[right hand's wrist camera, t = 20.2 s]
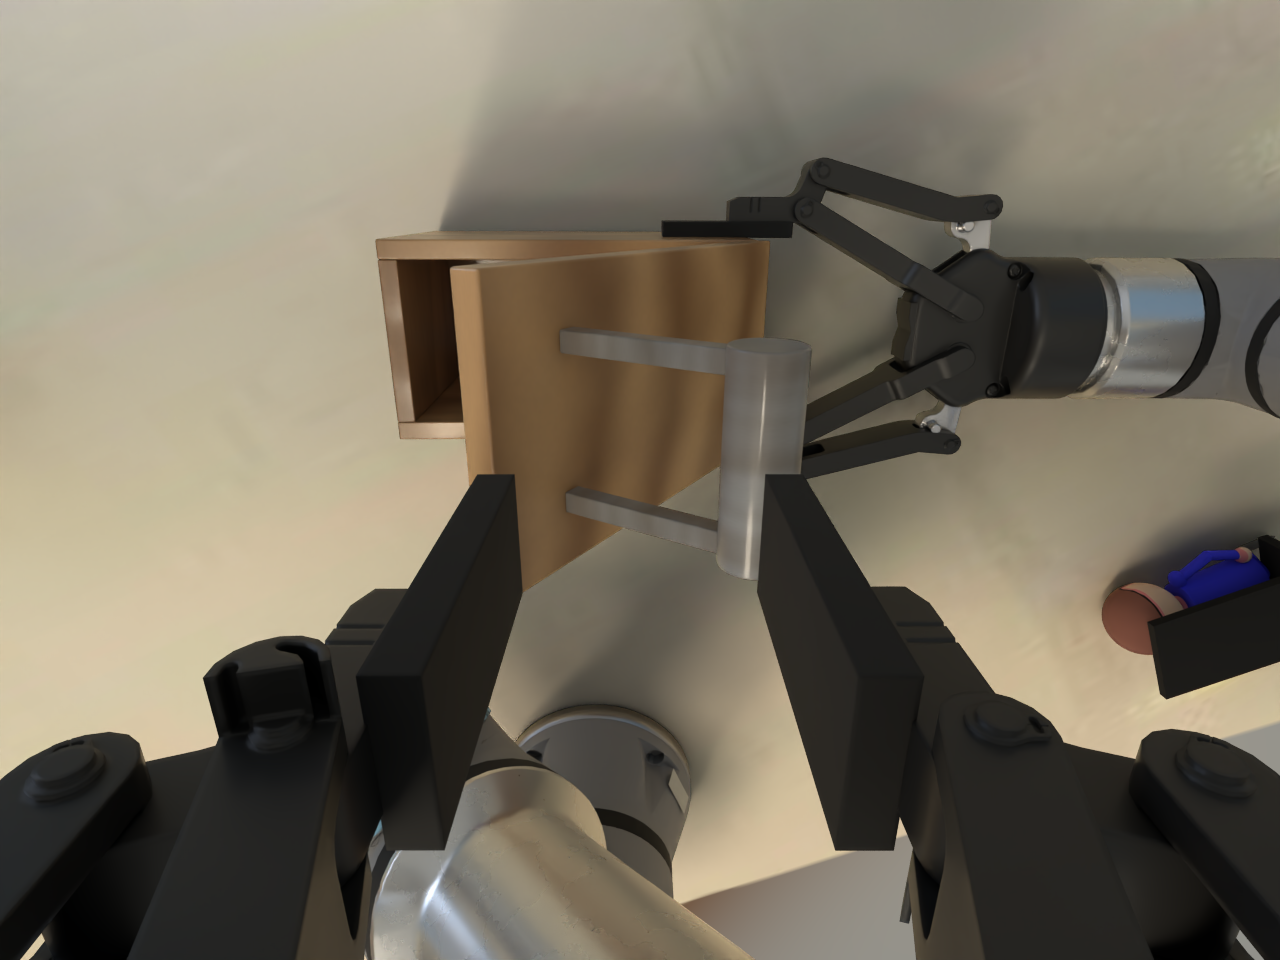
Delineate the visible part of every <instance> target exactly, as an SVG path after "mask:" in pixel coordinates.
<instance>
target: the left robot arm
mask: <svg viewBox="0 0 1280 960" xmlns="http://www.w3.org/2000/svg"><path fill="white" fill-rule="evenodd" d="M826 190H827V191H830V192H833V193H837V194H840V195H843V196H847V197H850V198H853V199H857V200H860V201H863V202H867V203H870V204H873V205H877V206H880V207H884V208H887V209H890V210H894V211H897V212H900V213H904V214H907V215H910V216H914V217H917V218H920V219H925V220H929V221H939V222H944V230H945V233H946V234H947V235H948V236H950V237H954V238H957V239H959V240H960V241H961V242H962V245H963V250H961V251H960V252H958V253H957V254H955V255H954V256H952V257H951V258H949V259H948V260H946V261H945V262H943V263H942V264H940V265H939V266H937V267H936V268H935V269H933V270H932V271H931V270H929V269H928V268H926V267H925V266H923V265H921V264H919V263H917V262H915V261H913V260H911V259H909V258H908V257H906V256H905V255H903V254H901V253H900V252H898V251H897V250H895V249H893V248H892V247H890V246H888V245H887V244H885V243H884V242H882V241H880V240H879V239H877V238H876V237H874V236H872V235H871V234H869V233H868V232H866V231H864V230H863V229H861V228H859V227H858V226H856V225H855V224H853V223H851V222H850V221H848V220H847V219H845V218H843V217H842V216H840V215H839V214H837V213H835V212H834V211H832V210H831V209H829V208H827V207H826V206H824V205H822V204H821V201H822V198H823V196H824V194H825V191H826ZM1002 208H1003V201H1002V199H1001V198H1000V197H999V196H998V195H993V194H987V195H965V196H951V195H948V194H945V193H942V192H938V191H935V190H932V189H928V188H925V187H922V186H918V185H915V184H912V183H909V182H905V181H902V180H899V179H895V178H892V177H889V176H885V175H882V174H879V173H876V172H872V171H869V170H866V169H862V168H859V167H856V166H853V165H849V164H846V163H843V162H839V161H836V160H833V159H829V158H820V159H816V160H812V161H809V162H807V163H806V164H805V165H804V166H803V168H802V170H801V177H800V179H799V182H798V184H797V186H796V188H795V190H794V191H793V192H792V193H791V194H790V195H789V196H786V197H736V198H734V199H731V200H729V201H727V210H726V221H662V233H661V235H662V236H663V237H746V238H792V229H793V223H796V224H797V225H799V226H801V227H802V228H804V229H805V230H807V231H809V232H810V233H812V234H814V235H815V236H817V237H819V238H820V239H822V240H823V241H825V242H827V243H828V244H830V245H832V246H833V247H835V248H837V249H838V250H840V251H841V252H843V253H845V254H846V255H848V256H850V257H851V258H853V259H855V260H856V261H858V262H859V263H861V264H863V265H864V266H866V267H868V268H869V269H871V270H873V271H874V272H876V273H878V274H879V275H881V276H882V277H884V278H885V279H886V280H888V281H889V282H891V283H892V284H894V285H896V286H897V287H899V288H901V289H902V290H904V291H905V292H904V294H903V296H902V298H898V303H897V311H896V313H897V320H898V328H897V331H896V333H895V336H894V338H893V342H892V349H891V354H892V355H894V358H892V359H890V360H888V361H886V362H884V363H882V364H880V365H879V366H877V367H876V368H875V369H874V371H873V372H871V373H869V374H867V375H865V376H863V377H861V378H859V379H857V380H855V381H853V382H851V383H849V384H847V385H845V386H843V387H841V388H839V389H837V390H835V391H833V392H831V393H829V394H828V395H826V396H824V397H822V398H820V399H818V400H816V401H814V402H812V403H810V404H808V405H807V407H806V418H805V429H804V440H803V451H802V462H801V473H800V474H803V476H804V477H805V479H809V478H813V477H817V476H821V475H825V474H830V473H834V472H838V471H842V470H846V469H850V468H854V467H859V466H863V465H867V464H871V463H875V462H879V461H883V460H887V459H892V458H896V457H900V456H904V455H908V454H912V453H916V452H925V453H937V454H953V453H955V452H956V451H958V450H959V448H960V446H961V440H960V438H959V437H958V436H957V435H956V434H955V430H956V426H957V423H958V419H959V415H960V411H961V407H963V406H966V405H968V404H970V403H972V402H974V401H977V400H980V399H985V398H996V399H1056V398H1062V397H1065V396H1068V397H1070V398H1075V399H1113V398H1193V399H1218V400H1226V401H1232V402H1236V403H1240V404H1243V405H1246V406H1249V407H1252V408H1255V409H1258V410H1261V411H1263V412H1266V413H1269V414H1271V415H1273V416H1275V417H1277V418H1280V258H1232V259H1188V260H1186V259H1180V258H1089V259H1087V260H1082V259H1079V258H1037V257H1002V256H1000V255H998V254H996V253H995V252H994V251H992V250H989V246H990V235H991V224H992V219H995V218H996V217H997V216H999V214H1000V213H1001V211H1002ZM924 389H925V390H927V391H928V392H929V393H930V394H932V395H933V396H934V397H935V398H937V399H938V403H937V405H936V406H935V407H934V408H933V409H931V410H929V411H923V412H921V413H918V414H917V415H916V419H915V420H903V421H897V422H892V423H888V424H884V425H880V426H876V427H871V428H867V429H863V430H859V431H855V432H851V433H847V434H843V435H839V436H835V437H831V438H827V439H823V440H819V441H815V442H811V441H813V440H815V439H817V438H819V437H821V436H823V435H825V434H827V433H829V432H831V431H833V430H835V429H837V428H839V427H841V426H843V425H845V424H847V423H849V422H851V421H853V420H855V419H857V418H859V417H861V416H863V415H865V414H867V413H869V412H871V411H873V410H875V409H877V408H879V407H881V406H883V405H886V404H888V403H890V402H892V401H894V400H901V399H905V398H907V397H910V396H912V395H914V394H916V393H918V392H920V391H922V390H924ZM809 442H811V443H809ZM490 712H491V710H490V709H489V707H488V709H487V712H486V715H485V719H484V722H483V725H482V729H481V732H480V735H479V739H478V742H477V745H476V748H475V752H474V755H473V758H472V762H471V765H470V768H469V772H468V775H467V778H466V781H465V785H464V788H463V791H462V795H461V798H460V801H459V805H458V808H457V811H456V815H455V818H454V821H453V824H452V828H451V831H450V834H449V838H448V841H447V844H446V848H445V851H386V846H385V841H384V835H383V829H382V824H381V819H380V822H379V824H378V827H377V829H376V831H375V834H374V836H373V838H372V841H371V843H370V846H369V848H368V850H367V851H368V856H369V861H370V867H371V874H372V885H371V895H370V905H369V914H368V924H367V934H366V944H365V956H366V958H367V960H755V959H754V958H752V957H751V956H750V955H748V954H747V953H746V952H744V951H743V950H742V949H740V948H739V947H738V946H736V945H735V944H733V943H732V942H731V941H729V940H728V939H727V938H725V937H724V936H723V935H721V934H720V933H719V932H717V931H716V930H715V929H713V928H712V927H710V926H709V925H708V924H706V923H705V922H704V921H702V920H701V919H700V918H698V917H697V916H696V915H694V914H693V913H692V912H690V911H689V910H687V909H686V908H685V907H683V906H682V905H681V904H679V903H678V902H677V901H675V900H674V899H673V882H672V860H673V857H674V854H675V851H676V848H677V845H678V842H679V839H680V836H681V833H682V830H683V827H684V823H685V820H686V817H687V814H688V810H689V804H690V798H691V784H690V773H689V766H688V763H687V759H686V757H685V754H684V752H683V750H682V749H681V747H680V745H679V744H678V742H677V741H676V740H675V738H674V737H673V736H672V735H671V734H670V733H669V732H668V731H667V730H666V729H665V728H663V727H662V726H661V725H659V724H658V723H657V722H655V721H653V720H652V719H650V718H648V717H646V716H644V715H642V714H640V713H637V712H634V711H632V710H628V709H625V708H620V707H615V706H608V705H583V706H576V707H571V708H566V709H563V710H560V711H557V712H554V713H552V714H549V715H547V716H545V717H543V718H542V719H540V720H538V721H537V722H535V723H534V724H533V725H531V726H530V727H529V728H528V729H527V730H526V731H525V732H524V733H523V734H522V735H521V736H520V737H519V738H518V740H517V741H516V743H515V742H514V741H513V740H512V739H511V738H510V737H509V736H508V735H507V734H506V733H505V732H504V731H503V730H502V728H501V727H500V726H499V725H498V724H497V723H496V721H495V720H494V719H493V718H492V717H491V716H490Z"/></svg>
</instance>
